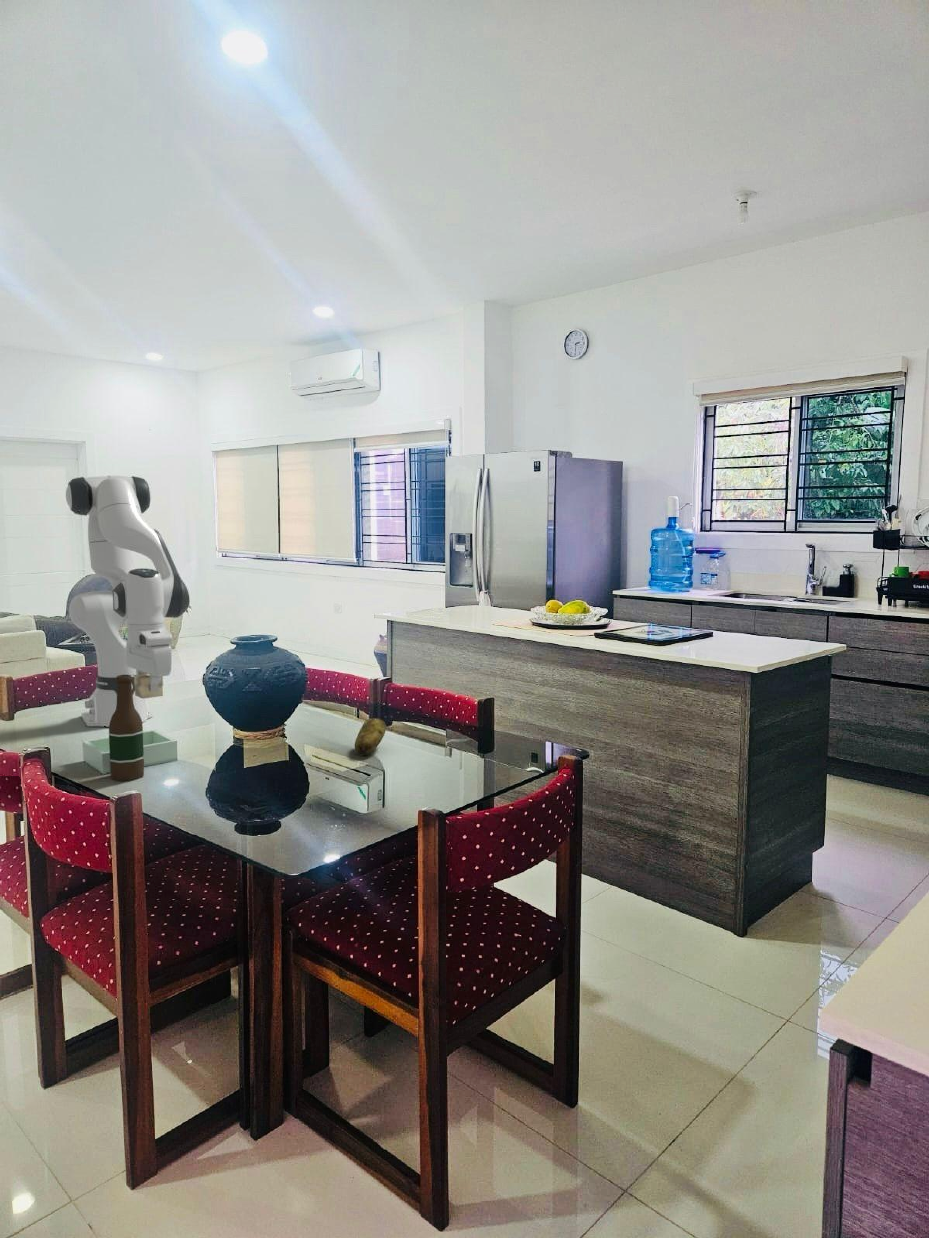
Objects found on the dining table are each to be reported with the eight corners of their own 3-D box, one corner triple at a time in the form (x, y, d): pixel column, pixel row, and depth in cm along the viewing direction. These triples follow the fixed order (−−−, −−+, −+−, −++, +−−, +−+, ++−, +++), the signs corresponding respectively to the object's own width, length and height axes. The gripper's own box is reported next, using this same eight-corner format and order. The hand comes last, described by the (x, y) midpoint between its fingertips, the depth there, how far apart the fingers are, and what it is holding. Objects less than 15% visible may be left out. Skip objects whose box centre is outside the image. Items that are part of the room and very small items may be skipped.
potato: (341, 754, 211) (341, 724, 210) (370, 742, 222) (370, 714, 221) (367, 759, 207) (367, 728, 206) (396, 747, 218) (396, 718, 217)
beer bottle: (118, 770, 194) (114, 672, 191) (151, 771, 194) (147, 672, 191) (103, 781, 187) (99, 678, 184) (137, 782, 186) (133, 679, 184)
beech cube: (135, 695, 204) (134, 675, 204) (154, 692, 208) (154, 673, 207) (142, 698, 201) (142, 678, 200) (162, 695, 204) (162, 676, 203)
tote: (83, 760, 202) (82, 741, 201) (155, 748, 214) (154, 729, 213) (102, 774, 192) (102, 753, 191) (177, 760, 204) (176, 740, 203)
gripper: (118, 631, 208) (120, 684, 209) (149, 640, 193) (152, 697, 194) (142, 629, 212) (144, 681, 214) (175, 637, 197) (177, 693, 199)
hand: (148, 689), depth 204 cm, fingers closed on beech cube, 5 cm apart
